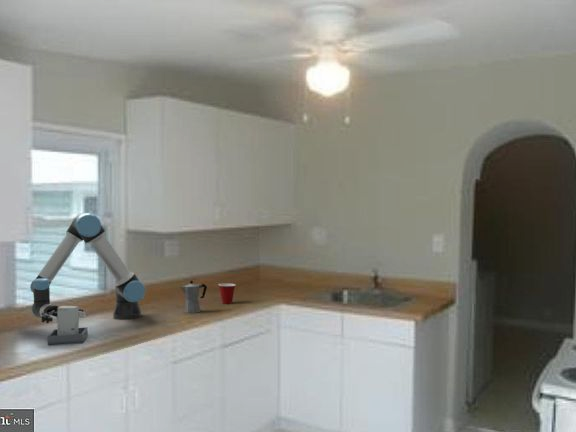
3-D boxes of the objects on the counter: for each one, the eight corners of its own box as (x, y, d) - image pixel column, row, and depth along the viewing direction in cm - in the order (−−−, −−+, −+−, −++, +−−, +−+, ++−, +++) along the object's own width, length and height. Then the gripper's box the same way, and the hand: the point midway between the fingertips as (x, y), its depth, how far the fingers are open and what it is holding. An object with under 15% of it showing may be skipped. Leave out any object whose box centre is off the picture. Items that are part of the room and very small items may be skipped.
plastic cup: (238, 303, 353) (238, 284, 352) (221, 305, 349) (220, 285, 348) (233, 301, 363) (233, 282, 362) (216, 302, 359) (216, 283, 358)
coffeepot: (182, 314, 325) (181, 282, 324) (179, 311, 334) (178, 280, 333) (209, 311, 330) (208, 280, 330) (205, 309, 339) (204, 278, 339)
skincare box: (57, 339, 268) (55, 307, 267) (62, 336, 274) (61, 305, 273) (75, 339, 267) (73, 307, 267) (80, 336, 273) (78, 305, 273)
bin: (87, 335, 279) (87, 327, 279) (83, 342, 264) (82, 334, 264) (54, 337, 276) (54, 329, 276) (47, 345, 261) (47, 336, 261)
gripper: (75, 315, 292) (96, 321, 277) (25, 324, 274) (44, 330, 259) (74, 301, 291) (95, 305, 277) (24, 308, 273) (43, 314, 259)
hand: (70, 317), depth 268 cm, fingers open, 13 cm apart
